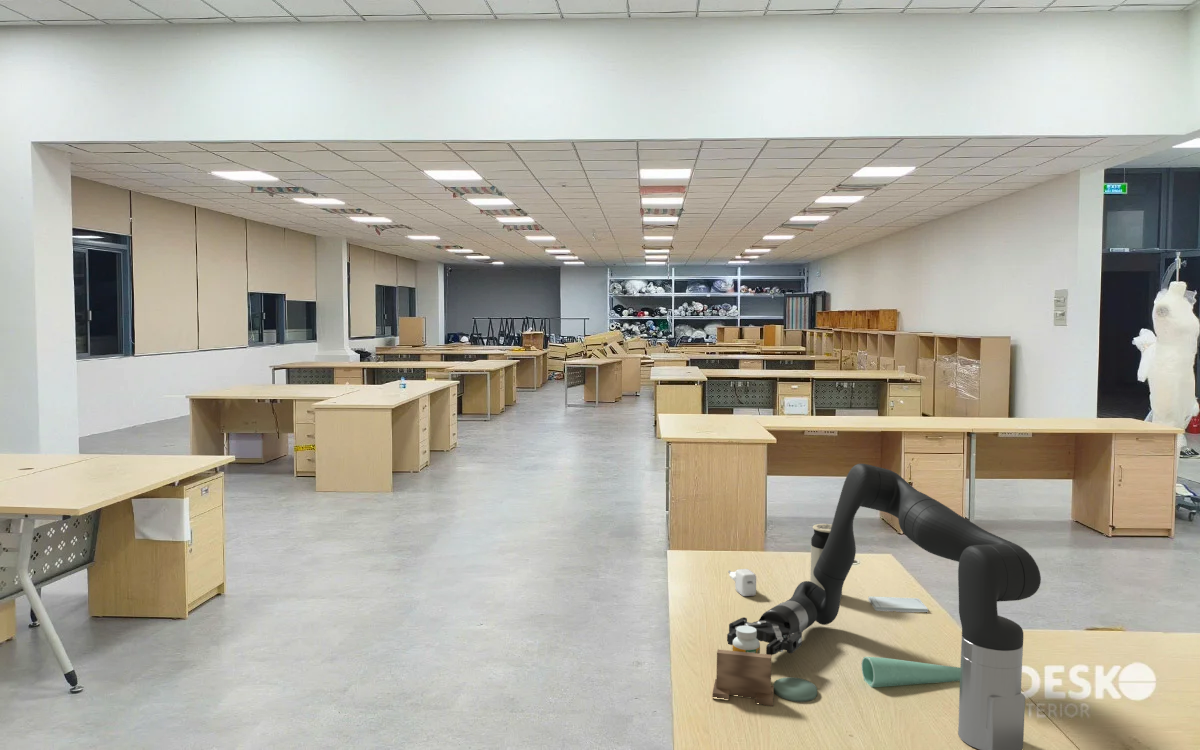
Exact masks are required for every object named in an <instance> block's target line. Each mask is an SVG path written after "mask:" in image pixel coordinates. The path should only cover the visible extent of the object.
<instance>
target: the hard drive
mask: <svg viewBox="0 0 1200 750" xmlns="http://www.w3.org/2000/svg"><path fill="white" fill-rule="evenodd" d="M867 600H868V601H869V603H870V604H871V606H872V607H873V609H874V611H876V612H893V611H896V612H897V613H900V612H901V613H914V612H928V613H929V608H928V607H927V606H926V605H925V603H923V602H922V600H921V599H920V598H918V597H892V596H872V595H871V596H868V598H867Z"/></svg>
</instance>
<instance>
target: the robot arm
mask: <svg viewBox="0 0 1200 750" xmlns="http://www.w3.org/2000/svg"><path fill="white" fill-rule="evenodd" d="M861 507H862V508H868V509H871V510H875V511H879V512H882V513H883V512H884V513H887V514H889V515H891V516H893V517H895V518H897V519H898V525H899V528H900V530H901V532H902V533H903V534H904V535H905V536H906V538H908V540H910V541H911V542H913V543H914V544H915V545H916V546H918V547H920V548H921V549H922V550H924V551H926V552H927V553H929V554H932V555H935V556H938V557H940V558H944V559H948V560H950V561H954V562H958V567H957V568H958V569H957V573H958V574H957V578H958V585H957V586H958V615H959V620H960V624H961V641H960V643H961V645H960V646H961V647H960V667H959V668H960V681H959V696H958V697H959V698H958V699H959V700H958V723H957V724H958V726H957V729H958V731H957V732H958V736H959V738H960V740H961V741H963V742H964V743H966V744H967V745H969V746H970V747H973V748H974V749H978V750H1022V749H1023V750H1024V732H1025V712H1026V711H1025V710H1026V709H1025V708H1026V707H1025V706H1026V696H1025V694H1024V693H1022V677H1023V676H1022V675H1023V655H1024V654H1023V653H1024V652H1023V651H1024V630H1023V627H1022V626H1021V625H1019V624H1018V623H1017V622H1016V621H1014V620H1011V619H1009V618H1007V617H1004V616H1001V615H999V613H998V602H1011V601H1014V602H1015V601H1021V600H1024V599H1028V598H1031V597H1032V596H1033V595H1035V594H1036V593H1037V592H1038V590H1039V589H1040V586H1041V580H1042V577H1041V576H1042V575H1041V572H1040V571H1041V570H1040V569H1039V566H1038V563H1037V562H1036V560H1035V559H1034V558H1033V556H1032V555H1031V553H1029V552H1028V551H1027V550H1026V549H1025V548H1024V547H1021V545H1018V544H1016V543H1014V542H1012V541H1010V540H1007V539H1004V538H1003V537H1001V536H998V535H996V534H994V533H991V532H989V531H988V530H985V529H983V528H982V527H980V526H979V525H977V524H975V523H973V521H970V520H969V519H967V518H966V517H964V516H962V515H960V514H959V513H957V512H956V511H954V510H953V509H951V508H950V507H949V506H946V505H945V504H943V503H942V502H940V501H938V500H937V499H935V498H932V497H931V496H929V495H927V494H925V493H923V492H922V491H919V490H918V489H916V488H915V487H913V486H912V485H911V484H910V483H909V482H908V481H906V480H905V479H904V478H903V477H902V476H901V475H900V474H898V473H896V472H895V471H892V470H891V469H887V468H883V467H879V466H875V465H871V464H866V463H857V464H855V465H854V466H852V467H851V468H850V469H849V472H848V473H847V475H846V478H845V480H844V483H843V486H842V489H841V491H840V494H839V500H838V502H837V506H836V509H835V513H834V517H833V521H832V527H831V531H830V534H829V536H828V539H827V542H826V544H825V546H824V548H823V551H822V553H821V555H820V557H819V559H818V561H817V563H816V565H815V568H814V571H813V574H814V576H815V578H816V579H817V580H818V582H819V583H820V584H821V585H822V586H823V588H824V589H825V590H824V589H822V588H821V587H819V586H818V585H816V584H815V583H813V582H810V580H805V581H801V582H800V583H799V584H798V585H797V586H796V588H795V590H794V592H793V594H792V596H791V597H790V598H788V599H787V600H785V601H784V602H783V601H782V602H780V603H778V604H776V605H775V606H773V607H771V608H770V609H767V610H766V611H764V613H763V614H762V615H761V616H760V617H759V619H758V620H757V621H753V622H749V621H748V618H747V617H740V618H738V619H736V620H734V621H731V622H730V623H729V624H728V633H727V634H726V642H727V645H730V646H733V640H734V638H736V637H737V636H736V628H737V627H739V626H751V627H754V628H756V630H757V636H756V639H758V641H759V642H765V643H767V644H766V649H765V651H766V652H765V653H766V654H768V655H772V656H774V655H776V654H778V653H779V652H780V653H783V652H784V651H786V652H787V653H788V654H793V653H794V652H795V651H796V650H798V649H799V648H800V647H801V646H802V644H803V643H802V642H803V633H804V631H805V630H806V629H808V628H810V627H811V626H812V625H813V624H814V623H815V622H816V623H818V624H819V625H823V626H824V625H825V626H826V625H829V624H831V623H832V622H834V621H835V619H836V618H837V616H838V614H839V610H840V606H841V598H842V597H841V592H842V593H843V586H844V583H845V580H846V578H847V576H848V574H849V572H850V570H851V568H852V566H853V565H854V561H855V558H856V554H857V553H856V552H857V547H856V540H855V534H854V520H855V516H856V514H857V512H858V510H859V509H860V508H861Z"/></svg>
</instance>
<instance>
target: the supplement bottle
mask: <svg viewBox="0 0 1200 750" xmlns="http://www.w3.org/2000/svg"><path fill="white" fill-rule="evenodd" d="M736 636H737V637H736V638H734V640H733V645H732V651H738V652H748V653H758V654H761V643H760V642H761V641H759V640H758V639H756V636H757V630H756V628H754V627H751V626H739V627H737V628H736Z"/></svg>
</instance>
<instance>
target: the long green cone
mask: <svg viewBox="0 0 1200 750" xmlns="http://www.w3.org/2000/svg"><path fill="white" fill-rule="evenodd" d="M861 673H862V676H863V681H864V682H865V683H866V684H867V685H868V686H869V687H870V688H880V687H882V688H883V687H895V686H896V687H897V686H909V685H911V686H913V685H924V684H937V683H952V681H953V682H960V667H959V666H958V667H957V666H950V665H942V664H935V663H927V662H920V661H912V660H911V661H910V660H903V659H897V658H896V659H895V658H890V657H888V658H887V657H877V656H864V657H863V658H862V661H861Z"/></svg>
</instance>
